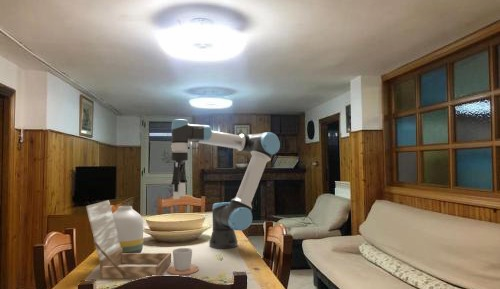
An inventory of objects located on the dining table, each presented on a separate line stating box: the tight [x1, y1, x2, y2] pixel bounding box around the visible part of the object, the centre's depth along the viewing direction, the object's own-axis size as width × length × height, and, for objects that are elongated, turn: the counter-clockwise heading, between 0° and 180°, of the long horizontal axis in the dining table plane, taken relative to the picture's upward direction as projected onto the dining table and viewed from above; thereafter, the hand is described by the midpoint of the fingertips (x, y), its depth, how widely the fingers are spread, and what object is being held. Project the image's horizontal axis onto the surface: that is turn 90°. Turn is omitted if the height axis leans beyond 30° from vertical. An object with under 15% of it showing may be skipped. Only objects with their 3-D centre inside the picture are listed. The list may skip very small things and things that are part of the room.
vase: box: [112, 205, 144, 253], centre depth 182 cm, size 17×17×24 cm
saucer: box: [166, 264, 200, 276], centre depth 159 cm, size 13×13×1 cm
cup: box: [172, 247, 193, 271], centre depth 159 cm, size 11×8×8 cm
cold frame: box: [85, 199, 172, 279], centre depth 159 cm, size 29×23×28 cm
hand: (179, 197), depth 177 cm, fingers open, 13 cm apart
